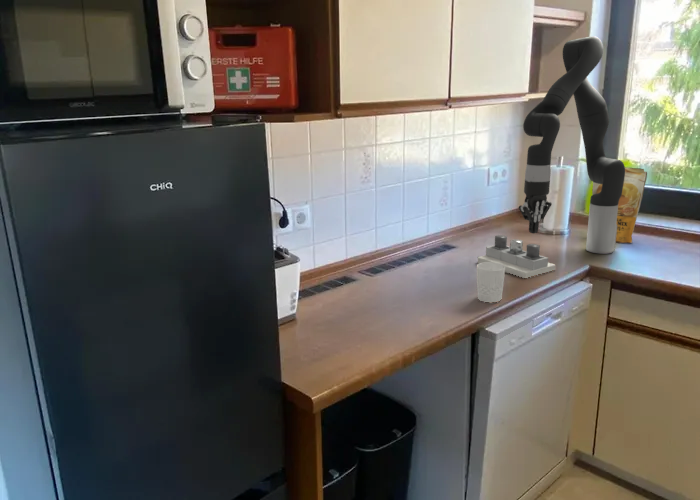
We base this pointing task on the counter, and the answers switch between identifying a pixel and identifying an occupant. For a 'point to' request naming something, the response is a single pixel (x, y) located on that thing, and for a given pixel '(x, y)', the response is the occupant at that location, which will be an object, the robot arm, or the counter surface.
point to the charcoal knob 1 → (500, 241)
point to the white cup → (490, 281)
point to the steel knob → (516, 246)
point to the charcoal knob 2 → (533, 250)
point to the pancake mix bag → (628, 202)
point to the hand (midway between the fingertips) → (533, 232)
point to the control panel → (517, 262)
